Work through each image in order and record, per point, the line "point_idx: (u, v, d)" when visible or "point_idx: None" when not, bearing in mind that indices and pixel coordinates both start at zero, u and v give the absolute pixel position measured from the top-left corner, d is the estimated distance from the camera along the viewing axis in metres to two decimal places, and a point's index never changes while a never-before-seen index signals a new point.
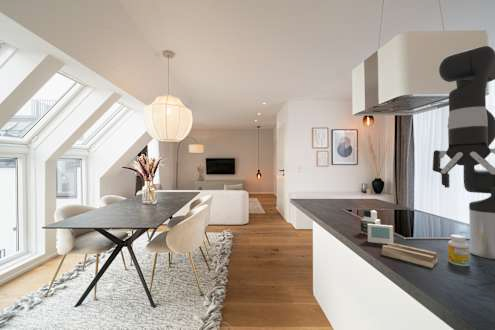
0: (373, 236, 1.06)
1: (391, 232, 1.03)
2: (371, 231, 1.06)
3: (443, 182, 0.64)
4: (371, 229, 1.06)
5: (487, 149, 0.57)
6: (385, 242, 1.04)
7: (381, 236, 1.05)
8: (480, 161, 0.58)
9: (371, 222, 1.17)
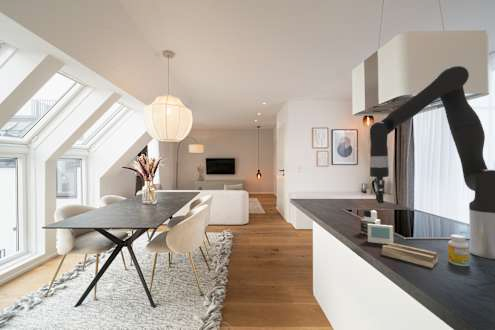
0: (373, 236, 1.06)
1: (391, 232, 1.03)
2: (371, 231, 1.06)
3: None
4: (371, 229, 1.06)
5: None
6: (385, 242, 1.04)
7: (381, 236, 1.05)
8: None
9: (371, 222, 1.17)
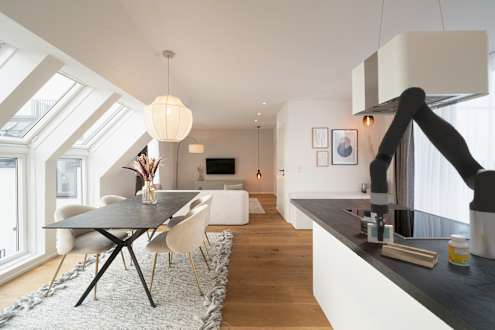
0: (373, 236, 1.06)
1: (391, 232, 1.03)
2: (371, 231, 1.06)
3: (382, 238, 1.04)
4: (371, 229, 1.07)
5: None
6: (385, 242, 1.04)
7: None
8: None
9: (371, 222, 1.17)
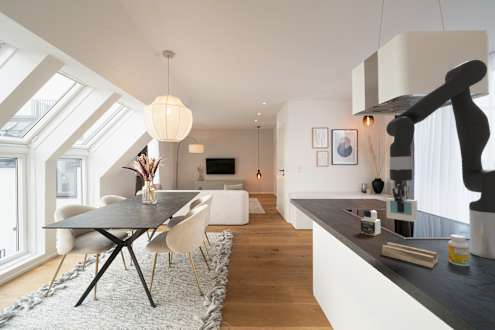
0: (393, 212, 0.93)
1: (414, 207, 0.88)
2: (390, 205, 0.94)
3: (402, 209, 0.90)
4: (390, 204, 0.94)
5: None
6: (406, 219, 0.90)
7: None
8: (407, 192, 0.91)
9: (371, 222, 1.17)
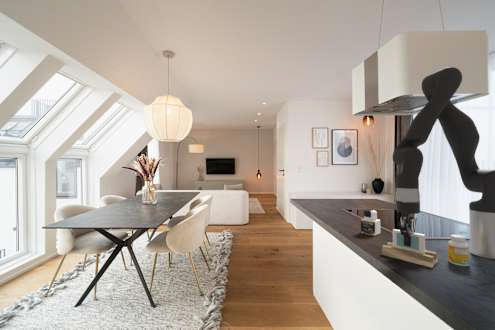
0: (399, 245, 0.89)
1: (421, 242, 0.84)
2: (396, 238, 0.90)
3: (408, 243, 0.86)
4: (396, 236, 0.90)
5: None
6: None
7: None
8: (414, 225, 0.88)
9: (371, 222, 1.17)
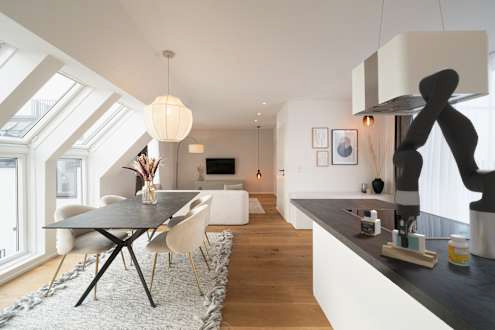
0: (399, 245, 0.89)
1: (421, 243, 0.84)
2: (396, 238, 0.90)
3: (406, 244, 0.84)
4: (396, 237, 0.90)
5: (414, 217, 0.90)
6: None
7: None
8: (415, 226, 0.88)
9: (371, 222, 1.17)
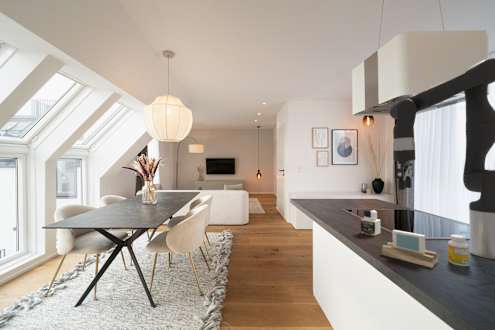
0: (399, 245, 0.89)
1: (421, 243, 0.84)
2: (396, 238, 0.90)
3: (403, 186, 0.91)
4: (396, 237, 0.90)
5: (409, 164, 0.97)
6: None
7: (408, 246, 0.87)
8: (411, 171, 0.96)
9: (371, 222, 1.17)
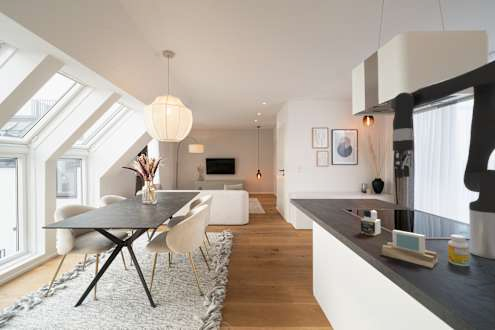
0: (399, 245, 0.89)
1: (421, 243, 0.84)
2: (396, 238, 0.90)
3: (401, 174, 0.97)
4: (396, 237, 0.90)
5: (408, 154, 1.02)
6: None
7: (408, 246, 0.87)
8: (409, 161, 1.01)
9: (371, 222, 1.17)
